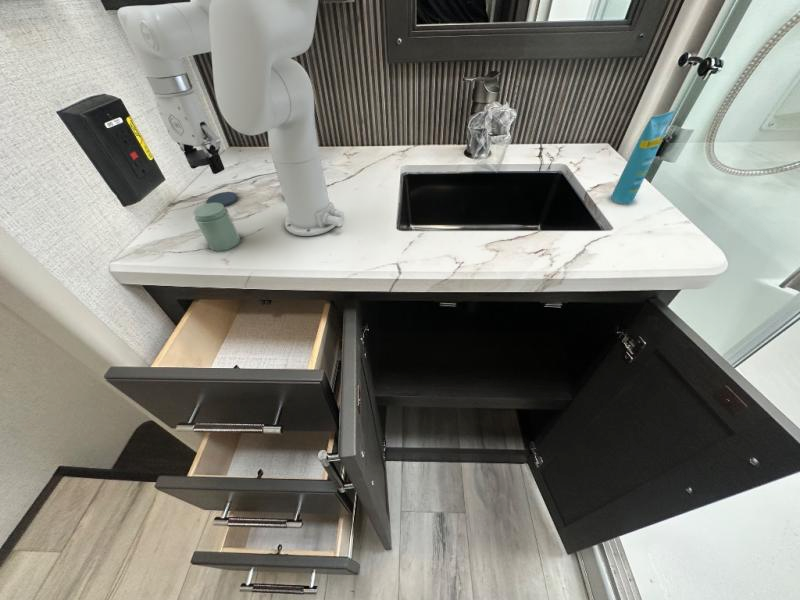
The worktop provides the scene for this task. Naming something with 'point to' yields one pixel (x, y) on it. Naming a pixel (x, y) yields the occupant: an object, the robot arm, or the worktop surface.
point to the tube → (641, 159)
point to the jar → (217, 226)
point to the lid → (197, 158)
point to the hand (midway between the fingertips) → (207, 168)
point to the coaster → (223, 198)
